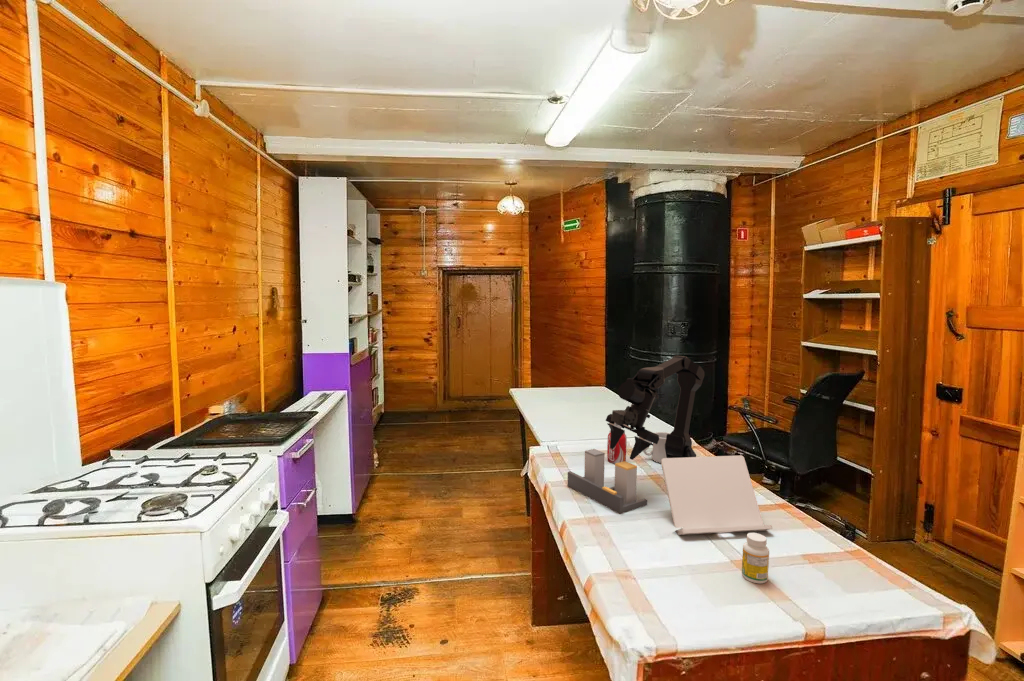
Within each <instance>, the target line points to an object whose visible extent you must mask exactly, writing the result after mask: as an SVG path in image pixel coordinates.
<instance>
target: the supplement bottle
mask: <svg viewBox="0 0 1024 681" xmlns="http://www.w3.org/2000/svg"><path fill="white" fill-rule="evenodd" d="M767 544H768V543H767V537H766V536H765V535H764V534H761V533H759V532H758V533H757V532H748V533H747V535H746V542H744V543H743V545H742V559H741V560H742V561H741V575H742V577H743V578H744V579H745V580H747V581H748V582H750V583H753V584H760V585H761V584H765V583H767V582H768V579H769V564H770V550H769V548H768V546H767Z"/></svg>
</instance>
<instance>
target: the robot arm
mask: <svg viewBox="0 0 1024 681" xmlns="http://www.w3.org/2000/svg"><path fill="white" fill-rule="evenodd" d="M674 374H675V375H676V376H677V380H676V381H677V383H678V386H679V388H680V392H679V396H678V402H677V403H678V404H677V408H676V414H675V419H674V420H675V421H674V426H673V430H672V431H671V432H669V433H670V434H667V436H666V443H665V452H666V457H667V458H684V457H697V454H696V452H695V451H694V449H693V447H692V445H693V441H692V439H691V436H690V434H689V430H690V426H691V425H690V424H691V420H692V415H693V414H692V413H693V409H694V403H695V402H694V401H695V397H696V392H697V391H698V390H699V389H700V388H701V386H702V384H703V381H704V378H705V371H704V369H703V367H702V366H700V364H698V363H696V362H694V361H692V360H691V358H689V356H688V357H687V356H682V355H673V356H672V358H669V359H668V360H666V361H664V362H662V363H659V364H658V365H656V366H651V367H647V366H646V367H643V368H640V369H639V370H638V371H637V373H635V375H634V376H633V377H632V378H630V377H628V378H627V377H626V380H625V382H624V381H623V382H622V383H621V384H620V386H619V387H618V389H617V394H618V397H619V398H620V399H621V400H623V401H626V402H628V403H630V404H631V405H630V406H629V405H627V406H626V408H625V409H615V410H614V409H613V410H612V412H611V413H609V414H608V415H607V416H606V418H605V421H606V422H607V424H606V425H607V426H608V427H609V429H610V430H611V442H610V448H611V449H613V448H614V447H615V446H616V444H617V443H618V441H619V440H620V438H621V436H622V435H623V433H624V432H625V433H626V431H625V429H626V430H628V431H630V432H633V433H635V434H636V435H637V436H634V440H635V442H634V445H633V448H632V450H631V452H630V455H629V460H631V461H632V460H634V459H635V458H637V457H638V456H639V455H640V454H641V453H642V452H643V450H645V449H646V448H647V447H649V448H650V446H652V447H653V443H655V444H657V443H658V441H659V435H657V434H655V433H656V432H653V431H650V430H649V429H646V427H645V426H644V425H645V422H646V420H647V419H650V417H651V414H649V413H650V410H651V408H652V405H653V403H654V400H655V399H656V400H659V397H660V396H659V394H658V392H657V389H659V388H660V387H662V386H663V384H665V380H666V379H668V378H669V377H671V376H673V375H674ZM655 389H656V390H655Z"/></svg>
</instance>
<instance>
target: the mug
mask: <svg viewBox="0 0 1024 681" xmlns="http://www.w3.org/2000/svg"><path fill="white" fill-rule="evenodd" d="M654 433H655V434H657V435H659V441H658V443H657V444H655V443H652V444H653V446H652V450H651V451H650V452H649V453H648V452H647V450H648V449H649V448H650V446H649V447H647V448H646V449H645V450H643V451H642V452H643V454H644V455H645V456H651V460H652V461H653V460H654V462H655V461H656V462H655V463H658V462H659V463H658V464H661V460H662V459H663V458H667V457H666V452H665V443H666V436H667V434H670V433H671V432H668V431H667V432H666V431H658V432H657V431H656V432H654Z"/></svg>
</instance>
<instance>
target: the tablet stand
mask: <svg viewBox="0 0 1024 681" xmlns="http://www.w3.org/2000/svg"><path fill="white" fill-rule="evenodd" d="M660 464H661V468H662V474H663V479H664V483H665V487H666V492H667V498H668V502H669V507H670V512H671V516H672V521H673V526H674V528H675V529H676V530H674V532H675V534H677V535H678V536H684V535H685V536H686V535H703V534H724V533H725V534H726V533H739V532H741V533H742V532H759V531H761V532H763V531H770V530H773V529H774V528H773V525H772V524H766V525H765V524H764V521H763V517H762V514H761V510H760V507H759V504H758V501H757V496H756V494H755V490H754V487H753V484H752V481H751V477H750V473H749V470H748V466H747V462H746V460H745V457H744V456H743V455H741V454H740V455H717V456H715V455H714V456H713V455H712V456H696V457H684V458H663V459H662V460H661V463H660Z"/></svg>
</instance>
